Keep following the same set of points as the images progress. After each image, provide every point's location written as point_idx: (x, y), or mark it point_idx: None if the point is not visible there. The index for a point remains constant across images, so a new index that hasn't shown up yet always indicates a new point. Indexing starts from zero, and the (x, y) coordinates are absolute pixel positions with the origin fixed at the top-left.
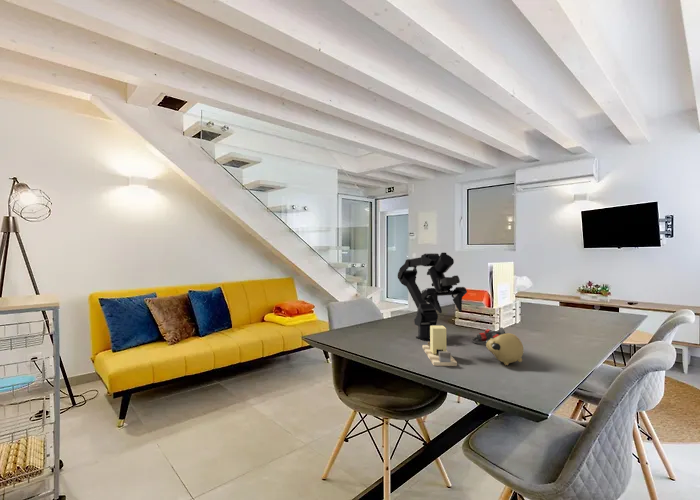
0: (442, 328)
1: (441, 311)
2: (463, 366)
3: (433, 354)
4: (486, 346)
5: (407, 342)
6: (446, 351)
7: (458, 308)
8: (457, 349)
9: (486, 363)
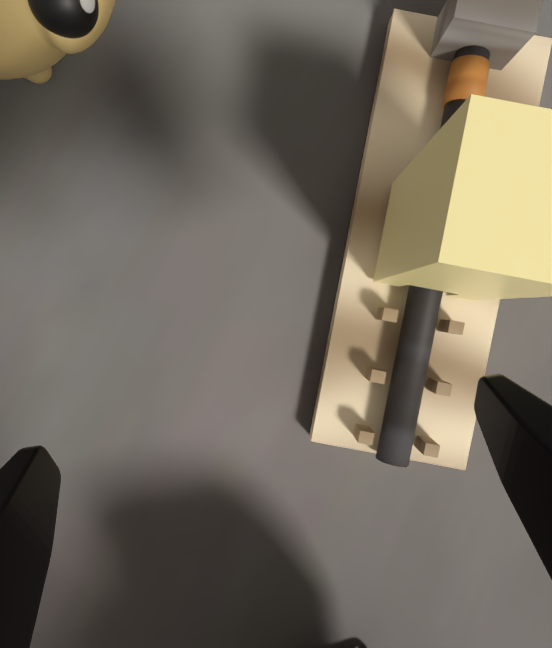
0: (518, 105)
1: (495, 378)
2: (350, 7)
3: None
4: (110, 8)
5: (517, 628)
6: (475, 18)
7: (37, 544)
8: (210, 378)
9: (168, 39)
